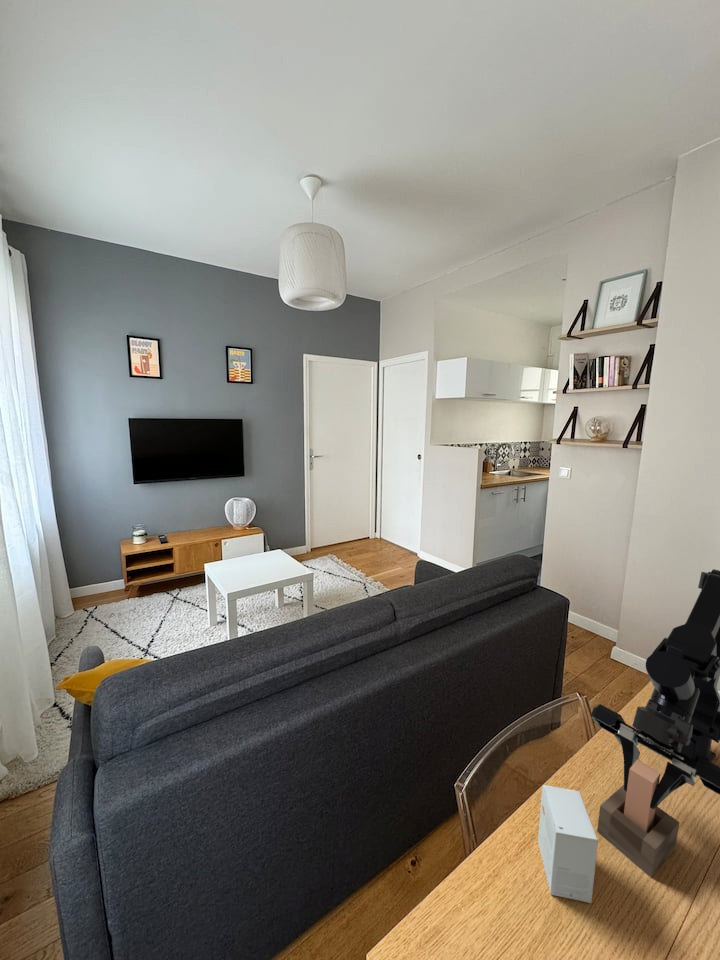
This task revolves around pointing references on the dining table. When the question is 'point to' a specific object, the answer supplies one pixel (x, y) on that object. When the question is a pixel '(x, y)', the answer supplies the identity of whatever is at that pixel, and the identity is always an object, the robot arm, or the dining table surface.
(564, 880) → the small box
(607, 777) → the dining table surface
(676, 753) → the robot arm
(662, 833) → the socket block
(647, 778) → the peg
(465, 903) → the dining table surface
